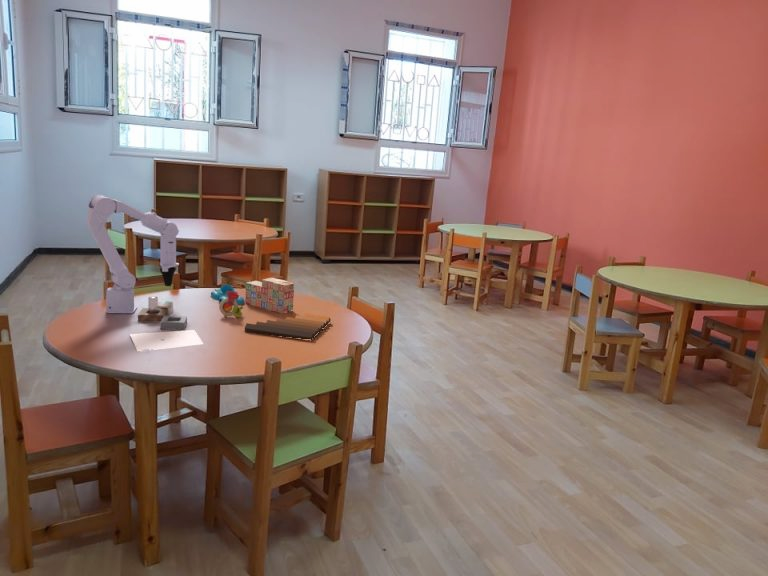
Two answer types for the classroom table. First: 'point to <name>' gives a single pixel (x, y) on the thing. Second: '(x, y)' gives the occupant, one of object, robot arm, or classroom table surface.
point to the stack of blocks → (271, 294)
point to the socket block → (152, 315)
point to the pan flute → (291, 326)
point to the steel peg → (153, 304)
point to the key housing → (166, 306)
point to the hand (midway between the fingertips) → (168, 285)
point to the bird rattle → (227, 307)
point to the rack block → (173, 322)
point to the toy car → (222, 294)
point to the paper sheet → (165, 340)
